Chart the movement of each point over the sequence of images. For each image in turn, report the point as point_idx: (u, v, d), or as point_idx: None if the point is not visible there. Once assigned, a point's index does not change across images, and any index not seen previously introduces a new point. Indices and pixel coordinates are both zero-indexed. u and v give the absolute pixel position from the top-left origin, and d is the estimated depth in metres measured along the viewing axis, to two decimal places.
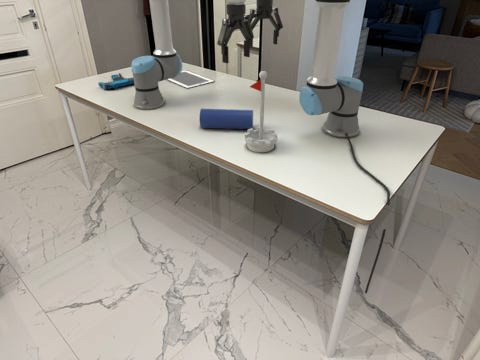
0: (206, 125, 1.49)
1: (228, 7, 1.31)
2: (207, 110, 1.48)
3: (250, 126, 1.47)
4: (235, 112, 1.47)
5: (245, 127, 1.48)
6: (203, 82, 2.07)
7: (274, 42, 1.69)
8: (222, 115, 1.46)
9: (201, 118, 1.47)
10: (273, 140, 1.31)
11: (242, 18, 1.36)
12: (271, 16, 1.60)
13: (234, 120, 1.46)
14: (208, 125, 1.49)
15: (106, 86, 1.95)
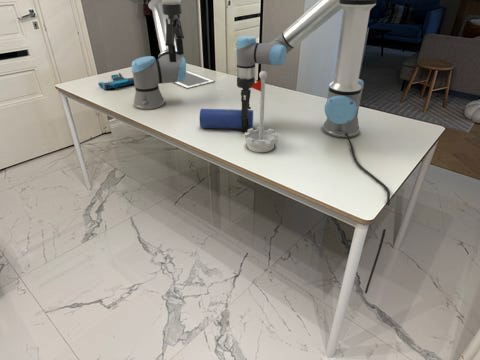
0: (206, 125, 1.49)
1: None
2: (207, 110, 1.48)
3: (250, 126, 1.47)
4: (235, 112, 1.47)
5: None
6: (203, 82, 2.07)
7: None
8: (222, 115, 1.46)
9: (201, 118, 1.47)
10: (273, 140, 1.31)
11: None
12: None
13: (234, 120, 1.46)
14: (208, 125, 1.49)
15: (106, 86, 1.95)
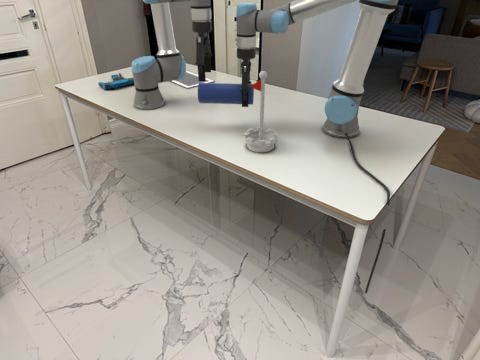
0: (205, 100, 1.43)
1: None
2: (206, 84, 1.42)
3: (250, 100, 1.41)
4: (235, 85, 1.40)
5: None
6: (203, 82, 2.07)
7: None
8: (221, 89, 1.40)
9: (199, 92, 1.41)
10: (273, 140, 1.31)
11: None
12: (250, 68, 1.40)
13: (234, 94, 1.40)
14: (207, 100, 1.42)
15: (106, 86, 1.95)
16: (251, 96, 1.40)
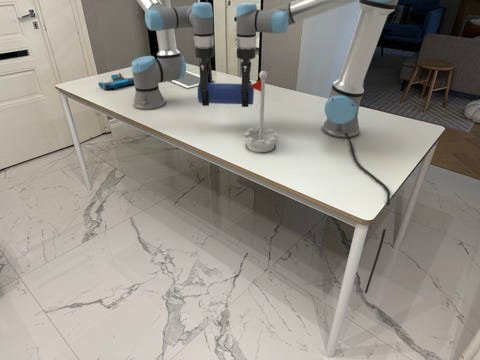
0: None
1: None
2: None
3: (250, 100, 1.41)
4: (235, 85, 1.40)
5: None
6: None
7: None
8: (221, 89, 1.40)
9: (199, 92, 1.41)
10: (273, 140, 1.31)
11: None
12: (250, 68, 1.40)
13: (234, 94, 1.40)
14: None
15: (106, 86, 1.95)
16: (251, 96, 1.40)
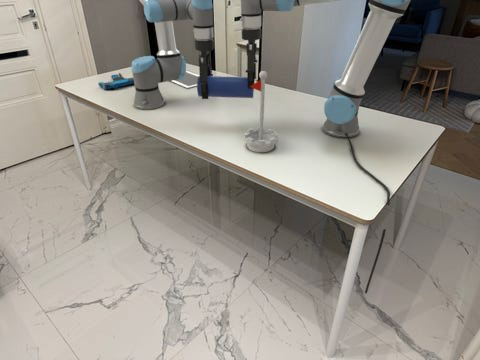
0: None
1: None
2: None
3: (250, 94, 1.39)
4: (235, 78, 1.39)
5: (245, 95, 1.40)
6: None
7: None
8: (221, 82, 1.39)
9: (199, 85, 1.39)
10: (273, 140, 1.31)
11: None
12: None
13: (234, 88, 1.38)
14: None
15: (106, 86, 1.95)
16: (251, 89, 1.38)
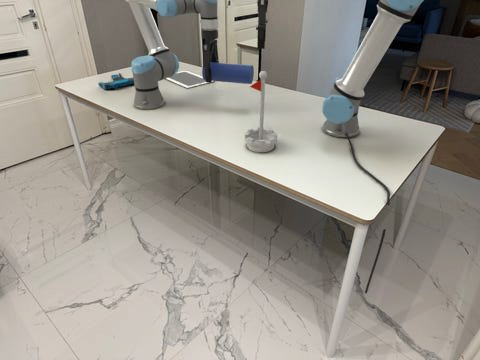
0: None
1: None
2: None
3: (248, 80, 1.56)
4: (235, 65, 1.56)
5: (243, 81, 1.57)
6: (203, 82, 2.07)
7: None
8: (222, 68, 1.57)
9: (203, 70, 1.59)
10: (273, 140, 1.31)
11: None
12: None
13: (233, 73, 1.56)
14: None
15: (106, 86, 1.95)
16: (248, 76, 1.55)
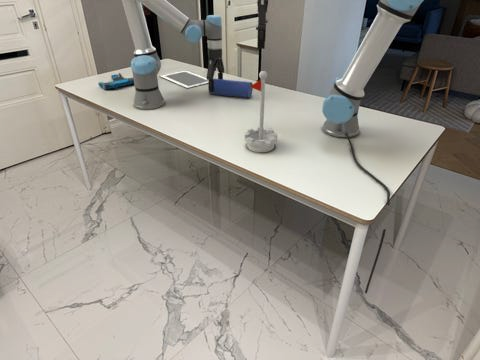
0: None
1: None
2: (215, 79, 1.86)
3: (247, 95, 1.81)
4: (236, 82, 1.82)
5: (243, 95, 1.83)
6: (203, 82, 2.07)
7: None
8: (225, 84, 1.83)
9: None
10: (273, 140, 1.31)
11: None
12: None
13: (234, 89, 1.82)
14: (215, 91, 1.86)
15: (106, 86, 1.95)
16: (247, 91, 1.80)
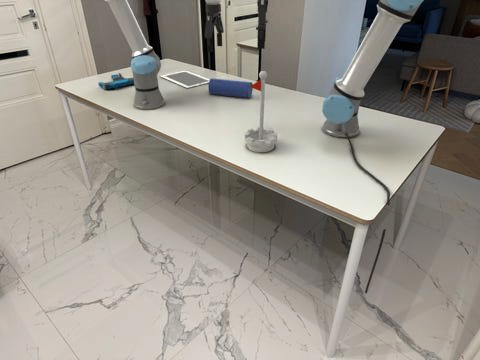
0: (213, 91, 1.87)
1: None
2: (215, 79, 1.86)
3: (247, 95, 1.81)
4: (236, 82, 1.82)
5: (243, 95, 1.83)
6: (203, 82, 2.07)
7: None
8: (225, 84, 1.83)
9: (209, 85, 1.85)
10: (273, 140, 1.31)
11: None
12: None
13: (234, 89, 1.82)
14: (215, 91, 1.86)
15: (106, 86, 1.95)
16: (247, 91, 1.80)
